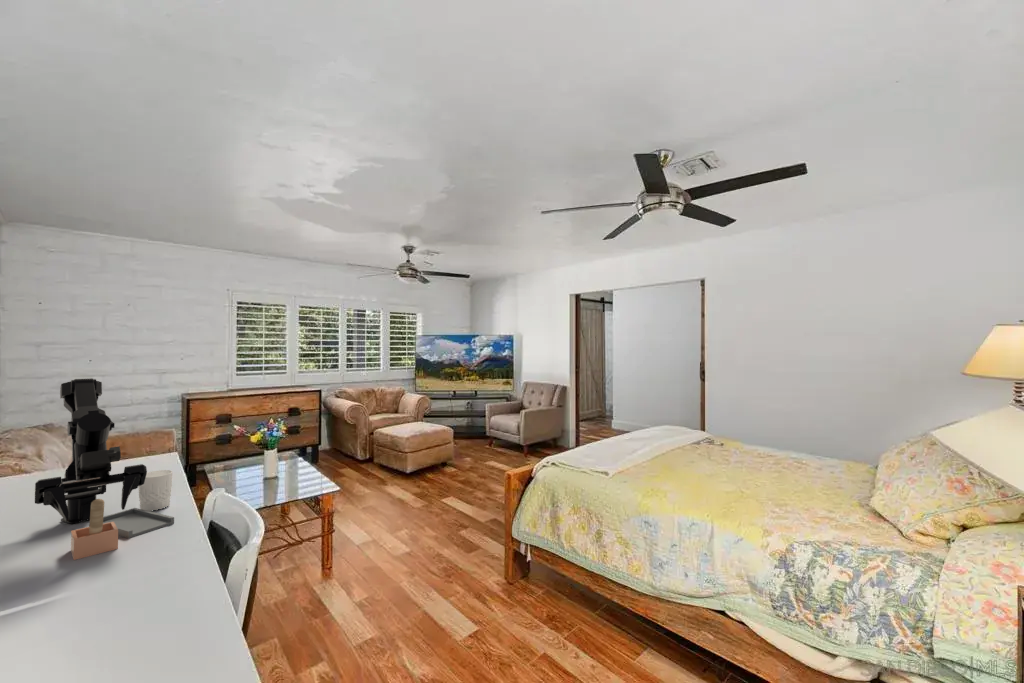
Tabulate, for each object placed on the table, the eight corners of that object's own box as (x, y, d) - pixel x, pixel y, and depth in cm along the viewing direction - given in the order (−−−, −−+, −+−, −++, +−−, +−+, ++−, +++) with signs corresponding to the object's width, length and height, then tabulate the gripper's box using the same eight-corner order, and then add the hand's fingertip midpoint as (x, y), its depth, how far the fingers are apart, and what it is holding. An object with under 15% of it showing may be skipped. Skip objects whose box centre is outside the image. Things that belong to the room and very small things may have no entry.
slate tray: (89, 529, 113) (89, 520, 113) (134, 515, 122) (135, 507, 122) (128, 540, 106) (128, 531, 106) (174, 525, 115) (174, 517, 115)
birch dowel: (87, 547, 100) (88, 495, 100) (100, 543, 101) (101, 492, 101) (90, 555, 96) (91, 501, 96) (104, 552, 97) (105, 498, 97)
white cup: (152, 513, 124) (153, 478, 124) (130, 511, 126) (130, 476, 126) (178, 504, 132) (179, 470, 132) (157, 502, 133) (158, 469, 134)
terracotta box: (70, 552, 100) (71, 530, 100) (113, 542, 105) (113, 521, 105) (73, 562, 95) (73, 539, 95) (117, 551, 100) (118, 529, 101)
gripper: (36, 443, 96) (36, 505, 88) (145, 431, 110) (154, 484, 102) (34, 473, 101) (34, 534, 93) (139, 458, 115) (147, 510, 107)
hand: (96, 514), depth 99 cm, fingers open, 9 cm apart
